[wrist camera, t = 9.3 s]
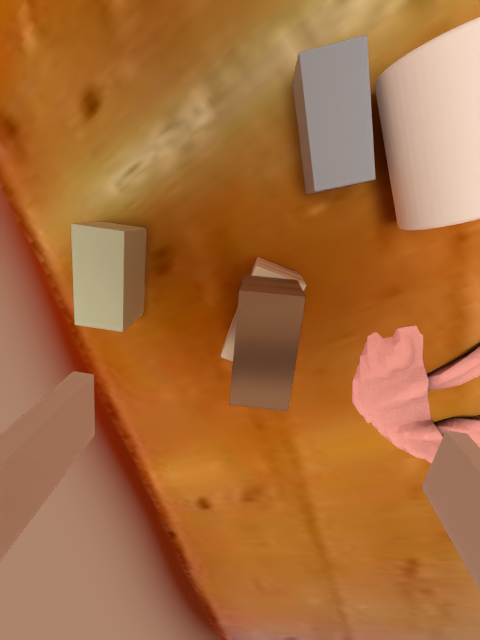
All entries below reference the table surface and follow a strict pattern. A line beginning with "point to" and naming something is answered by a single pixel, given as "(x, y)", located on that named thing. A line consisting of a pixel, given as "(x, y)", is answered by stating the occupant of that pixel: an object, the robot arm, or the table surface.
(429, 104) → the mug
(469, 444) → the robot arm
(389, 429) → the cloth
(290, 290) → the walnut brick
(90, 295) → the sage brick
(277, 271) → the birch brick
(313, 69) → the slate brick
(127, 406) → the table surface
